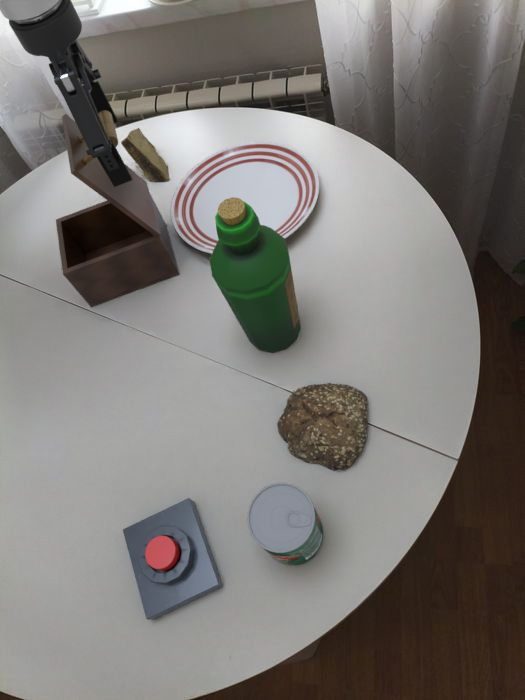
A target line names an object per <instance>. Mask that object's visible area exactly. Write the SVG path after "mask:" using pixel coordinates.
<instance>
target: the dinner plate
mask: <svg viewBox="0 0 525 700" xmlns="http://www.w3.org/2000/svg"><path fill="white" fill-rule="evenodd" d="M319 194H320V178H319V175H318V171H317V169H316V167H315V165H314V164H313V162H312V161H311V160H310V158H308V156H306V155H305V154H304V153H302V152H301V151H300V150H298V149H296V148H294V147H292V146H290V145H286V144H283V143H279V142H274V141H250V142H243V143H238V144H234V145H231V146H227V147H225V148H223V149H221V150H218V151H216V152H214V153H212V154H211V155H208V156H206V157H205V158H204V159H202V160H201V161H200V162H198V163H197V164H196V165H195V166H193V167H192V168H191V169H190V170H189V171H188V172H187V173H186V174H185V175H184V177H183V178H182V180H181V181H180V182H179V184H178V186H177V187H176V189H175V192H174V193H173V197H172V201H171V205H170V217H171V222H172V225H173V227H174V230H175V231H176V233H177V234H178V236H179V237H180V238H181V239H182V240H183V241H184V242H185V243H186V244H187V245H189V246H190V247H192V248H194V249H196V250H198V251H200V252H203V253H207V254H210V255H212V253H213V251H214V248H215V246H216V244H217V242H218V240H219V239H218V235H217V230H216V221H215V216H216V214H217V212H218V207H219V205H220V203H222V202H223V201H224V200H225V199H229V198H232V197H234V198H240V199H241V200H242V201H244V202H246V203H247V204H248V205H250V206H251V207H252V209H253V210H254V212H255V213H256V215H257V216H258V218H259V222H260V225H265V226H267V227H270V228H272V229H273V230H274V231H276V232H277V233H278V234H279V235H281V236H282V237H283V238H285V239H287V238H288V237H290V236H291V235H292V234H294V233H295V232H296V231H298V229H299V228H300V227H301V226H303V224H304V223H305V222H306V221H307V220H308V218H309V217H310V215H312V212H313V210H314V209H315V206H316V204H317V201H318V197H319Z"/></svg>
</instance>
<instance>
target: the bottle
mask: <svg viewBox="0 0 525 700" xmlns="http://www.w3.org/2000/svg"><path fill="white" fill-rule="evenodd" d="M215 221H216V230H217V235H218V239H219V240H218V242H217V244H216V246H215V248H214V251H213V253H212V254H210V257H209V261H208V262H209V266H210V270H211V271H210V272H211V276H212V278H213V280H214V282H215V284H216V285H217V287H218V289H219V291H220V293H221V294H222V296H223V297H224V300H225V301H226V302H227V305H228V306H229V308H230V309H231V312H232V313H233V315H234V317H235V318H236V320H237V322H238V324H239V325H240V327H241V329H242V330H243V332H244V334H245V336H246V337H247V339H248V341H249V342H250V343H251V344H252V345H253V346H254V347H255V348H256V349H258V350H259V351H263V352H268V353H275V352H279V351H282V350H286V349H287V348H288V347H290V346H291V345H292V344H293V343H294V342H295V341H296V340H297V339H298V336H299V333H300V330H301V320H300V315H299V314H300V313H299V308H298V307H299V306H298V302H297V295H296V290H295V289H296V288H295V283H294V277H293V271H292V264H291V258H290V253H289V249H288V246H287V242H286V238H283V237H282V236H281V235H279V234H278V233H277V232H276V231H274V230H273V229H272V228H270V227H267V226H265V225H260V222H259V218H258V216H257V215H256V213H255V212H254V210H253V209H252V207H251V206H250V205H248V204H247V203H246V202H244V201H242V200H241V199H240V198H234V197H232V198H229V199H225V200H224V201H223V202H222V203H220V205H219V207H218V212H217V214H216V216H215Z"/></svg>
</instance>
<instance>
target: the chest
mask: <svg viewBox="0 0 525 700" xmlns="http://www.w3.org/2000/svg"><path fill="white" fill-rule="evenodd" d="M149 193H150V197H151V200H152V204H153V208H154V212H155V215H156V219H157V223H158V227H159V230H160V234H161V235H160V236H159V237H156V236H154V235H153V234H152V233H150V232H149V231H148V230H146V229H145V228H144V227H142V226H141V225H140V224H138V223H137V222H136V221H134V220H133V219H132V218H130V217H129V216H128V215H126V214H125V213H124V212H122V211H121V210H119V209H118V208H117V207H115V206H114V205H113V204H111V203H110V202H109V201H107V200H103V201H102V202H99V203H97V204H94V205H91V206H88V207H86V208H83V209H80V210H78V211H74V212H73V213H69V214H67V215H65V216H62V217H59V218H56V219H55V225H56V232H57V240H58V248H59V253H60V254H59V256H60V261H61V262H60V263H61V270H62V275H63V276H64V278H66V280H67V281H68V282H69V283H70V285H71V286H72V287H73V288H74V289H75V291H76V292H77V293H78V294H79V295H80V296H81V298H82V299H83V300H84V301H85V302H86V303H87V304H88V306H89V307H90V308H93V307H96V306H98V305H100V304H104V303H106V302H109V301H112V300H114V299H117V298H120V297H123V296H124V295H125V296H126V295H128V294H131V293H134V292H136V291H139V290H142V289H144V288H148V287H149V286H152V285H155V284H157V283H160V282H163V281H166V280H168V279H171V278H174V277H177V276H179V275H180V270H179V266H178V262H177V260H176V256H175V255H176V254H175V252H174V249H173V245H172V242H171V238H170V233H169V230H168V227H167V223H166V222H165V219H164V218H163V216H162V214H161V212H160V210H159V208H158V206H157V204H156V202H155V200H154V198H153V196H152V194H151V192H150V191H149Z"/></svg>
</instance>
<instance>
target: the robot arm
mask: <svg viewBox="0 0 525 700" xmlns="http://www.w3.org/2000/svg"><path fill="white" fill-rule="evenodd" d="M0 13H1V14H2V16H3V17H4V18H5V19H7V20H8V24H9V27H10V28H11V30H12V31H13V33H14V34H15V36H16V38H17V40H18V42H19V43H20V45H21V46H22V48H23V49H24V51H25V52H26V53H28V54H29V55H32V56H34V57H46V58H48V60H49V62H50V63H48V68H49V69H50V71H51V74H52V76H53V80H54V81H53V82H54V85H55V86H57V88H58V91H60V93H61V95H62V97H63V99H64V101H65V103H66V105H67V107H68V109H69V111H70V114H71V115H72V119H73V120H74V121H75V122H76V124H77V126H78V128H79V130H80V132H81V134H82V136H83V139H84V141H85V143H86V145H87V147H88V149H89V150H86V152H87V154H88V155H91V156H92V157H93V158H96V157H97V158H98V160H99V162H100V163H101V165H102V167H103V169H104V170H105V172H106V174H107V175H108V177H109V179H110V180H111V182H112V184H113V186H114V187H116V186H118V185H121V184H124V183H126V182H129V181H132V177H131V175H130V173H129V171H128V169H127V168H126V166H125V164H126V163H125V162H124V160H123V158H122V156H121V154H120V153H119V151H118V149H117V146H116V147H115V145H114V143H113V142H112V140H109V138H108V135H107V133H106V131H105V128H104V126H103V123H102V121H101V119H100V116H99V113H100V112H101V111H103V110H106V111H109V112H110V113H111V114H112V117H113V122H114V124H116V123H118V121H119V120H118V117H117V115H116V114H115V112H114V110H113V108H112V106H111V104H110V101H109V100H108V98H107V96H106V94H105V92H104V90H103V88H102V86H101V84H100V82H99V79H102V75H101V73H100V70H99V69H98V68H97V69H96V68H95V69H94V70H93V62H91V61H90V59H89V58H88V56H87V54H86V52H85V51H84V49H83V47H82V46H81V45H80V43H79V42H78V40H77V39H78V38H79V37H80V35H81V33H82V29H83V23H82V20H81V18H80V17H79V14H78V12H77V10H76V8H75V6H74V4H73V1H72V0H0Z"/></svg>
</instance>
